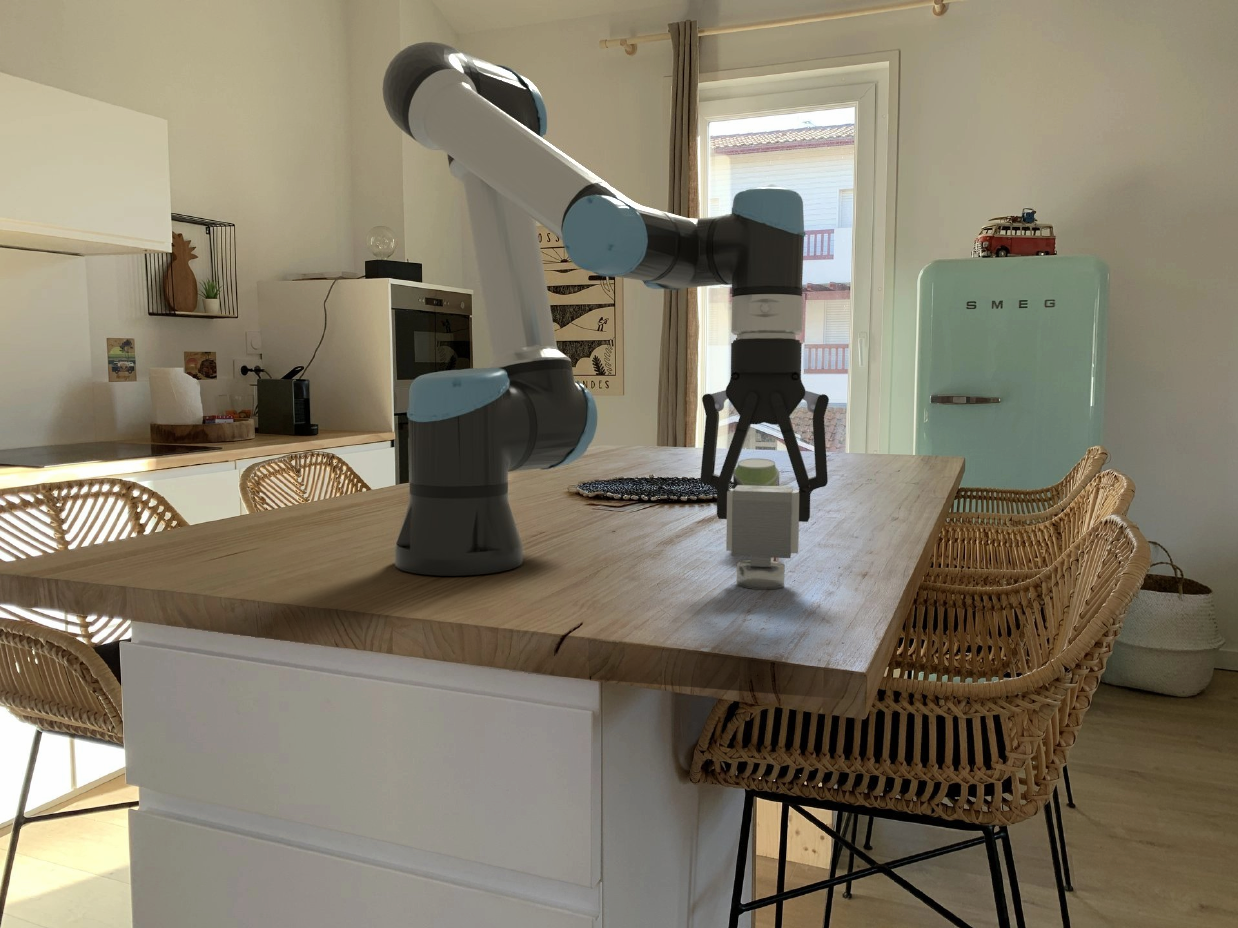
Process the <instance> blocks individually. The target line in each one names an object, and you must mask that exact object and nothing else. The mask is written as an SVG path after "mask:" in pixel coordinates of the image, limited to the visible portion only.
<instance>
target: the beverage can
mask: <svg viewBox="0 0 1238 928" xmlns="http://www.w3.org/2000/svg"><path fill="white" fill-rule="evenodd" d="M732 480H733V482H732V484H733V486H732V487H733V488H732V489H735V487H736V486H737V485H751V486H780V471H779V469H778V468H777V467H776V462H775V461H774V460H771V459H766V458H745V459H742V460H738V462H737V465H736V467H735V470H734V473H733V476H732Z"/></svg>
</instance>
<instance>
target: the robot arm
mask: <svg viewBox="0 0 1238 928" xmlns="http://www.w3.org/2000/svg"><path fill="white" fill-rule="evenodd" d="M382 80H383V81H382V99H383V101H384V106H385V108H386V109H385V110H386V111H387V113H388V116H389V117H390V118H391V120H392V121H393V123H394V124H395V125H396V126H397V127H398V128H399V130H401V131H402V132H404V133H405V134H406V135H408V136H409V137H410V138H412V139H413V140H414V141H415V142H417V143H418V144H420V145H421V146H422V147H424V148H426V149H428V150H431V151H443V152H444V153H446V154H447V155H446V156H447V161H448V168H449V172H450V174H451V176H453V178H455V179H457V180H458V181H460V182H461V183H462V184H463V187H464V192H465V199H466V204H467V210H468V211H467V212H468V218H469V223H470V230H471V235H472V243H473V249H474V253H475V260H476V267H477V272H478V277H479V278H478V279H479V283H480V284H479V285H480V289H481V297H482V303H483V307H484V308H483V310H484V314H485V321H486V326H487V333H488V338H489V344H490V350H491V351H490V352H491V357H492V359H491V362H490V363H489V365H488V366H487V367H481V368H480V367H478V368H475V367H474V368H464V369H451V370H442V371H437V372H429V373H426V374H422V375H419V376H417V377H416V378H414V379H413V381H412V383H411V384H410V387H409V391H408V392H409V393H408V394H409V396H408V407H407V409H406V410H407V411H406V416H407V418H408V419H407V421H408V423H407V425H408V426H407V427H408V458H409V459H408V462H409V463H408V464H409V465H408V466H409V467H408V471H409V474H408V475H409V477H408V479H409V481H408V482H409V501H408V504H407V508H406V511H405V515H404V517H403V521H402V524H401V526H400V527H401V528H400V529H399V530H400V531H399V533H398V536H397V540H396V543H395V545H394V546H395V548H394V566H395V567H396V568H397V569H398V570H401V571H403V572H406V573H407V572H408V573H412V574H419V575H428V576H442V577H443V576H448V577H449V576H452V577H453V576H454V577H455V576H456V577H459V576H474V575H485V574H487V575H488V574H495V573H500V572H505V571H509V570H513V569H515V568H518V567H520V566H522V564H523V560H524V559H523V558H524V557H523V553H524V551H523V542H522V539H521V536H520V533H519V530H518V527H517V523H516V521H515V517H514V514H513V512H512V507H511V504H510V502H509V472H510V473H511V472H519V471H520V472H521V471H529V470H531V471H532V470H539V469H540V470H546V471H547V470H550V469H555V468H558V467H561V466H562V467H563V466H566V465H567V466H568V465H570V464H572V463H573V462H576V461H577V460H578V459H580V458H581V457H582V456H583V455H584V454H585V453H586V452H587V450H588V448H589V445H590V444H592V442H593V440H594V437H595V436H596V432H597V427H598V409H597V408H598V407H597V404H596V400H595V398H594V396H593V394H592V393H591V391H590V390H589V389H587V388H586V387H585V385H584V384H583V383H581V382H580V381H577V380H575V376H574V371H573V366H572V365H573V364H572V360H571V358H570V357H568V356H567V355H566V354H564V353H563V352H561V351H560V350H559V348H558V345H557V344H558V343H557V339H556V333H555V328H554V327H555V325H554V320H553V315H552V311H551V309H552V308H551V304H550V298H549V291H548V285H547V279H546V274H545V269H544V268H545V267H544V262H543V257H542V256H543V255H542V251H541V244H540V243H541V242H540V239H539V232H538V226H537V223H539V224H540V225H541V226H542V227H544V228H546V229H547V230H548V231H549V232H551V233H552V234H553V235H554V236H556V237H557V238H558V239H560V240H561V241H562V244H563V247H564V249H565V251H566V254H567V257H568V258H569V260H570V261H571V262H572V263H573V264H574V265H575V266H576V267H578V268H579V269H582V270H584V271H587V272H592V273H593V274H595V275H597V276H602V277H607V278H608V277H609V278H614V277H615V278H623V279H631V280H636V281H642V282H643V284H644V286H646V287H647V288H648V289H652V290H669V291H679V290H681V289H688V288H698V287H712V286H723V285H724V286H729V285H731V322H730V323H731V324H730V325H731V327H730V328H731V331H730V332H731V333H732V334H733V336H736V338H735V339H734V340H733V341H732V342H731V344H730V379H729V382H728V383H727V386H726V387H725V389H724V390H720V391H717V392H715V393H714V392H713V393H706V394H703V395H702V397H701V400H702V401H701V402H702V405H703V408H704V409H703V410H704V414H705V423H704V424H705V425H704V435H703V444H702V445H703V446H702V455H701V458H702V459H701V468H700V482H701V483H702V484H704V485H708V486H710V487H712V488H714V489H715V490H716V516H717V519H718V520H726V540H725V541H726V545H725V546H726V548H725V549H726V551H729V552H732V495H733V490H734V489H733V488H730V484H731V481H732V480H733V473H734V470H735V469H736V467H737V466H738V462H739V459H740V456H741V454H742V449H743V447H744V444H745V441H746V439H747V435H748V433H749V431H750V428H751V426H752V425H760V424H763V423H765V424H768V425H772V426H773V425H775V426H776V425H777V426H778V428H779V430H780V432H781V435H782V439H783V441H784V444H785V448H786V451H787V454H788V457H789V461H790V464H791V467H792V470H793V473H794V476H795V480H796V483H797V486H798V490H793V492H792V527H791V554H799V545H800V544H799V541H800V540H799V539H800V537H799V536H800V523H801V522H802V523H803V522H804V523H807V522H808V523H809V519H810V517H811V494H812V492H814V491H815V490H816V489H820V488H824V487H826V486H827V485H828V481H829V480H828V478H829V477H828V464H827V463H828V462H827V445H826V444H827V443H826V430H825V429H826V427H825V415H826V411H827V408H828V405H829V402H830V399H829V396H828V395H827V394H826V393H825V394H823V393H822V394H821V393H815V392H812V391H808V390H806V387H805V385H804V384H803V381H802V351H803V350H802V347H803V345H802V342H801V341H800V340H799V339H797V336H798V335H800V334H801V333H802V332H803V308H804V307H803V305H804V304H803V303H804V301H803V300H804V299H803V274H804V273H803V270H804V268H803V267H804V246H805V245H804V242H805V237H806V232H805V221H804V218H805V217H804V201H803V198H802V196H801V195H800V194H799V193H798V192H797V191H795V190H794V189H790V188H785V187H775V186H774V187H773V186H771V187H770V186H768V187H765V186H764V187H754V188H753V187H752V188H748V189H747V188H746V189H745V190H742V191H741V190H740V191H739V192H737V193H736V194H735V196H734V197H733V200H732V201H733V202H732V207H731V213H728V214H725V215H719V216H711V217H710V216H709V217H699V218H689V217H684V216H681V215H676V214H674V213H670V212H666V211H662V210H659V209H655V208H651V207H647V206H644V205H641V204H639V203H637V202H635V201H633V200H631V199H630V198H629V197H627V196H626V195H624V194H623V193H622V192H620V191H618V190H617V189H615V188H614V187H612V186H610V184H609V183H607V181H604V180H603V179H601V178H600V177H599V176H597V175H596V174H594V173H593V172H591V171H590V170H589V169H587V168H585V167H584V166H582V165H581V164H580V163H578V162H577V161H575V159H573V158H571V157H570V156H568V155H567V154H566V153H564V152H562V151H561V150H559V149H558V148H557V147H555V146H554V145H552V144H551V143H549V142H548V141H547V140H546V139H543V137H544V136H545V135H547V130H548V116H547V115H548V114H547V108H546V104H545V102H544V99H543V96H542V94H541V93H540V91H539V89H538V88H537V87H536V86H535V84H534V83H533V82H532V81H530V80H529V79H528V78H527V77H525V76H523V75H521V74H519V73H518V72H517V71H515V70H513V69H512V68H510V67H507V66H505V65H500V64H494V63H492V62H488V61H487V60H484V59H482V58H479V57H477V56H475V55H472V54H469V53H467V52H465V51H462V50H459V49H457V48H456V47H453V46H452V45H451V46H450V45H447V44H444V43H440V42H433V41H425V42H423V41H422V42H418V43H414V44H411V45H409V46H407V47H405V48H404V49H402V50H400V51H399V52H398V53H397V54H396V55H395V56H394V58H393V59H392V60H391V61H390V63H389V65H388V66H387V69H386V70H385V74H384V76H383V79H382ZM727 400H728V401H729V402H730V404H731V405H732V407H733V409H735V411H736V412H737V413H738V415H739V417H738V420H737V424H736V426H735V430H734V432H733V436H732V440H731V442H730V445H729V447H728V450H727V453H726V456H725V459H724V462H723V465H722V467H721V471H720V474H719V475H718V474H716V473H715V468H716V457H717V456H716V455H717V446H718V433H719V427H720V426H719V425H720V412H722V410H724V408H725V402H726V401H727ZM803 400H804V401H805V402H806V405H807V410H808V412H810V413H812V431H813V435H812V436H813V448H814V465H815V466H814V469H815V475H814V476H812V477H809V475H808V472H807V468H806V465H805V462H804V459H803V456H802V453H801V452H802V451H801V449H800V447H799V443H798V439H797V437H796V434H795V430H794V426H793V424H792V420H791V415H792V414H793V413H794V411H795V410H796V409H797V407H798V406H799V405H800V404H801V402H802V401H803Z"/></svg>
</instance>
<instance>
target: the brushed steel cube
mask: <svg viewBox="0 0 1238 928" xmlns="http://www.w3.org/2000/svg"><path fill="white" fill-rule="evenodd" d="M793 491H794V486H784V485H779V486H751V485H737V486H736V487H735V489H734V490H733V495H732V551H731V557H749V558H750V557H769V558H778V559H791V557H792V553H791V527H792V492H793Z"/></svg>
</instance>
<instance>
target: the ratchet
mask: <svg viewBox="0 0 1238 928" xmlns="http://www.w3.org/2000/svg"><path fill="white" fill-rule="evenodd" d="M749 558H750V559H749V560H741V561H738V562H737V563H736V585H737V586H739V587H742V588H746V589H751V590H767V591H768V590H769V591H770V590H778V589H781V588H784V587H785V575H786V574H785V571H786V569H785V568H786V567H785V564H784V563H782V562H779V561H778V560H779V558H769V557H749Z"/></svg>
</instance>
